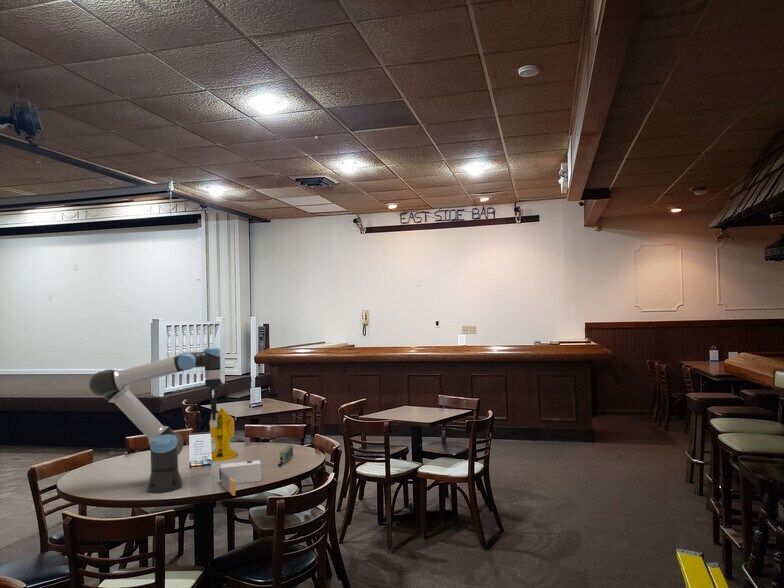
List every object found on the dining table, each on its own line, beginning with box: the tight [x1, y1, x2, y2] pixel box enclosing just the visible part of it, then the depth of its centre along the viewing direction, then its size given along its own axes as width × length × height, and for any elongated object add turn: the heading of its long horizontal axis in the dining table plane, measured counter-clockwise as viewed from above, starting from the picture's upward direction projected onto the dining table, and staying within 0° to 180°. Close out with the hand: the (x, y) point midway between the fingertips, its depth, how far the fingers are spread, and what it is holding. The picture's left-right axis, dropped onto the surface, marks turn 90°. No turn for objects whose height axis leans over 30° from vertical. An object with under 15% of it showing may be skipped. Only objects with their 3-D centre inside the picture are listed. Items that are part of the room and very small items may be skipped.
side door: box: [220, 470, 236, 497], centre depth 254 cm, size 23×1×6 cm, turn 29°
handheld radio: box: [277, 444, 294, 467], centre depth 309 cm, size 7×3×25 cm
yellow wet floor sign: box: [208, 407, 239, 462], centre depth 325 cm, size 18×24×28 cm
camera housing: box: [218, 459, 262, 485], centre depth 272 cm, size 19×8×9 cm, turn 107°
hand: (214, 426), depth 283 cm, fingers closed
